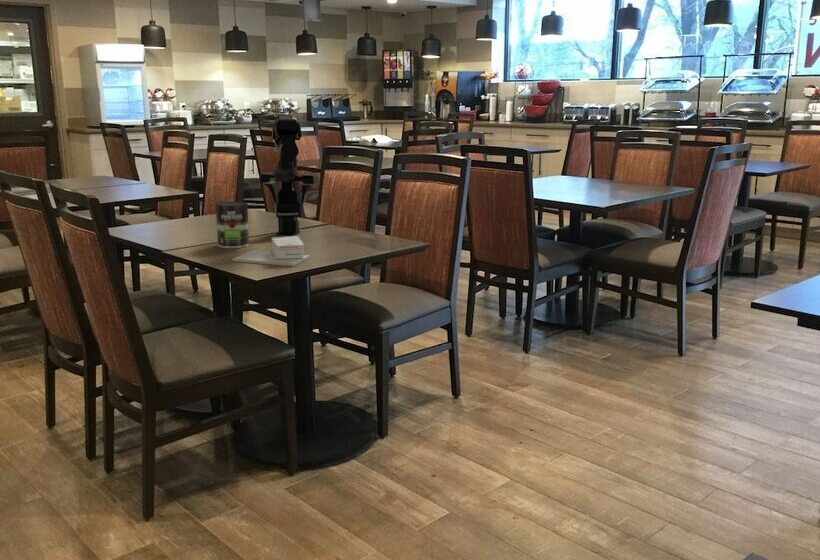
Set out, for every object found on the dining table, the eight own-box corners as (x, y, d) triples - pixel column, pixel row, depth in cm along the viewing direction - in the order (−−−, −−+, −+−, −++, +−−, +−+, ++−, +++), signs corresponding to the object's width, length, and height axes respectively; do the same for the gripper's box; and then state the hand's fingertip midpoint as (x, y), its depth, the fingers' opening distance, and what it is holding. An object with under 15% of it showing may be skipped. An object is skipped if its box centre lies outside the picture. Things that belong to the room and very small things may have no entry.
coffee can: (249, 248, 242) (247, 205, 239) (217, 249, 240) (214, 206, 237) (249, 242, 252) (247, 200, 249) (218, 243, 250) (216, 201, 247)
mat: (232, 261, 223) (232, 258, 223) (252, 253, 235) (252, 250, 234) (292, 266, 218) (292, 263, 217) (310, 257, 229) (310, 255, 228)
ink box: (271, 252, 233) (276, 261, 219) (271, 236, 232) (275, 245, 218) (299, 251, 235) (305, 260, 221) (298, 235, 234) (305, 244, 220)
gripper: (252, 158, 240) (254, 206, 244) (308, 160, 237) (309, 208, 241) (264, 156, 250) (266, 201, 254) (317, 157, 248) (318, 203, 251)
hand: (289, 204), depth 250 cm, fingers open, 9 cm apart
